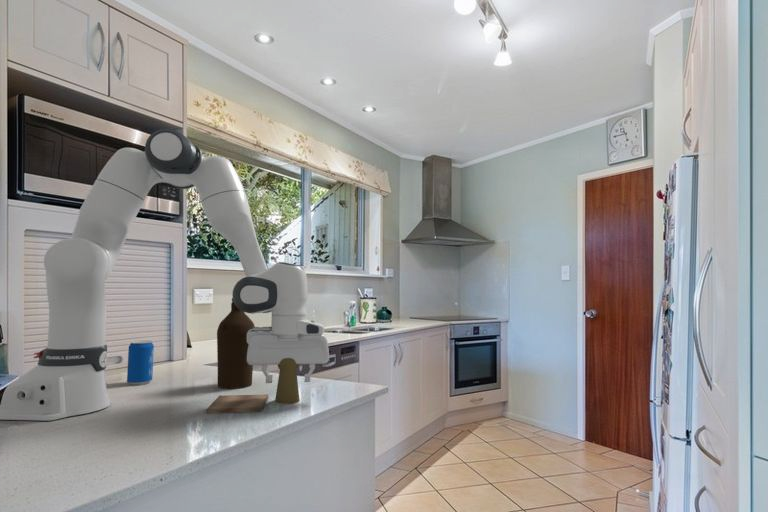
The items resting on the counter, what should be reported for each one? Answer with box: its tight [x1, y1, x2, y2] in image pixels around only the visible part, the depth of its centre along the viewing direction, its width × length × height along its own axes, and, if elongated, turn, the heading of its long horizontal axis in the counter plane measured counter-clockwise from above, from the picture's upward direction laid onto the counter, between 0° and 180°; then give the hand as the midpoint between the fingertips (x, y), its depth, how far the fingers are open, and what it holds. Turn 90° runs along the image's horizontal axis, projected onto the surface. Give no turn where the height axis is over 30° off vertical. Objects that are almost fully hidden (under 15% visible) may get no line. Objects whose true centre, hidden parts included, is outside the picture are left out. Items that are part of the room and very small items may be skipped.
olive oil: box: [216, 297, 256, 390], centre depth 127 cm, size 11×11×25 cm
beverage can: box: [126, 340, 155, 386], centre depth 129 cm, size 6×6×12 cm
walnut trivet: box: [206, 393, 269, 414], centre depth 105 cm, size 12×12×1 cm
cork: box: [274, 358, 300, 405], centre depth 110 cm, size 6×6×11 cm
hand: (288, 382), depth 110 cm, fingers open, 8 cm apart
